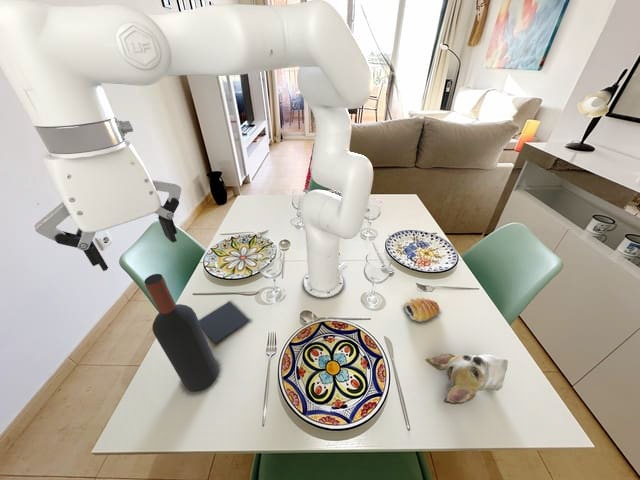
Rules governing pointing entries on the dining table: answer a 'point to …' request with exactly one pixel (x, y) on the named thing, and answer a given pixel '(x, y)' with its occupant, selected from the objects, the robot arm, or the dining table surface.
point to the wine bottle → (182, 338)
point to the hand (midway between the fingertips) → (139, 251)
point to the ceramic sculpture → (470, 374)
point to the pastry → (421, 309)
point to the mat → (223, 322)
